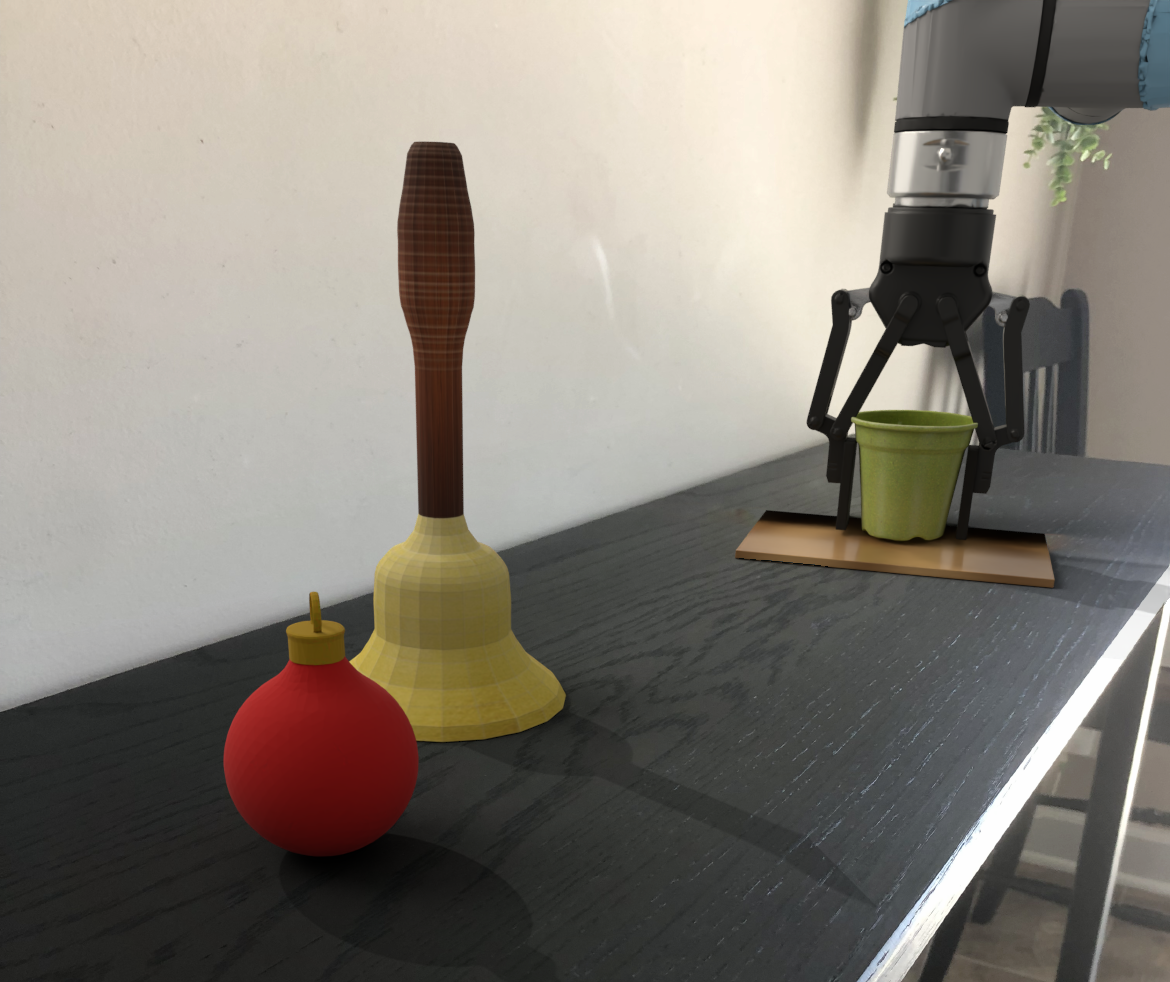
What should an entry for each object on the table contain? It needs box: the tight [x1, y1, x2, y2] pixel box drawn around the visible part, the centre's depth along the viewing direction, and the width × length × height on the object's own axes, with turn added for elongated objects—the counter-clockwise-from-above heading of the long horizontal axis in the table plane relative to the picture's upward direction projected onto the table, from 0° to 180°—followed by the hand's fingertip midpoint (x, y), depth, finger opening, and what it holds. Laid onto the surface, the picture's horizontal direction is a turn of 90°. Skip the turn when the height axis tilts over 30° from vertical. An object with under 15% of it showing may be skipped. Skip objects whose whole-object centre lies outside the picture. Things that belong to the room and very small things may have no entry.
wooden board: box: [734, 509, 1056, 589], centre depth 97 cm, size 22×18×1 cm
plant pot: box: [851, 409, 978, 541], centre depth 95 cm, size 9×9×9 cm
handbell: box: [348, 141, 567, 743], centre depth 59 cm, size 12×12×25 cm
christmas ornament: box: [223, 591, 420, 857], centre depth 46 cm, size 7×7×10 cm
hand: (901, 530), depth 97 cm, fingers closed on plant pot, 8 cm apart
